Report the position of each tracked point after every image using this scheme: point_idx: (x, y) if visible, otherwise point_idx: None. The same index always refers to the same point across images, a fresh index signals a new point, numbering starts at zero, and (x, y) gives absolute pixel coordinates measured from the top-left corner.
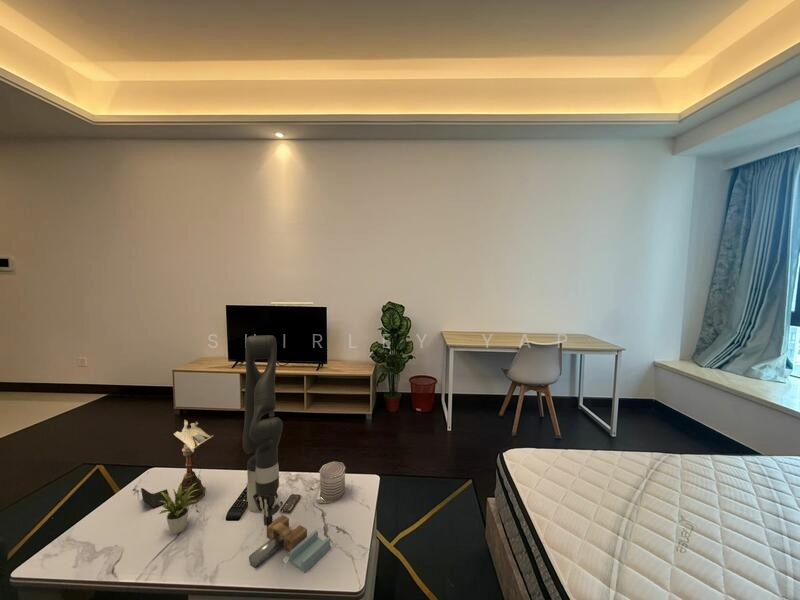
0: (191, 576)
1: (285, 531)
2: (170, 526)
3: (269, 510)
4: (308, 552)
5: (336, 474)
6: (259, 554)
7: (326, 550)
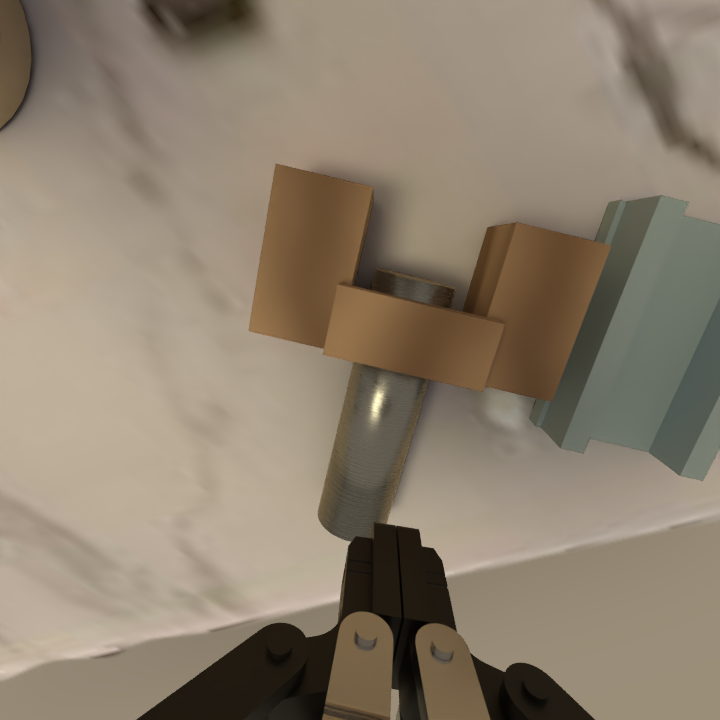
0: (128, 616)
1: (466, 361)
2: None
3: (391, 652)
4: (641, 348)
5: None
6: (380, 512)
7: None
